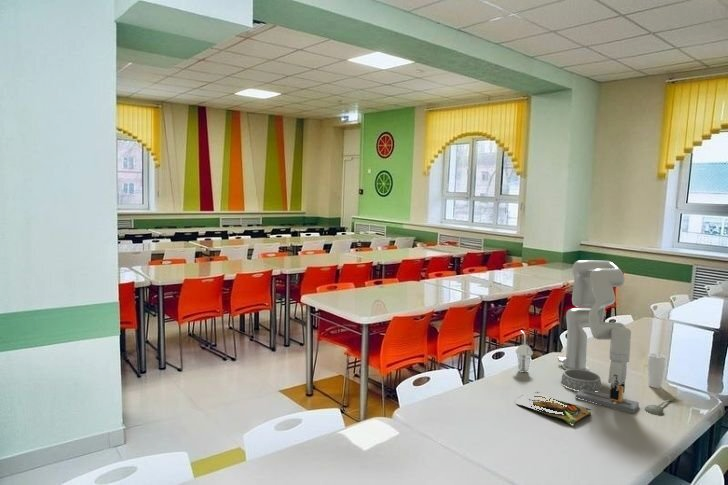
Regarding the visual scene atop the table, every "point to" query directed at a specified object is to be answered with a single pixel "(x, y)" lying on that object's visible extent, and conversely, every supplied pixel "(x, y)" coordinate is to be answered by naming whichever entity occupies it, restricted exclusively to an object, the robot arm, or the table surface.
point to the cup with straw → (524, 356)
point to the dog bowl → (581, 380)
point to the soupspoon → (656, 408)
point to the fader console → (607, 400)
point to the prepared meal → (563, 410)
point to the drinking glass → (655, 370)
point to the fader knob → (620, 394)
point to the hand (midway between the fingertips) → (617, 395)
